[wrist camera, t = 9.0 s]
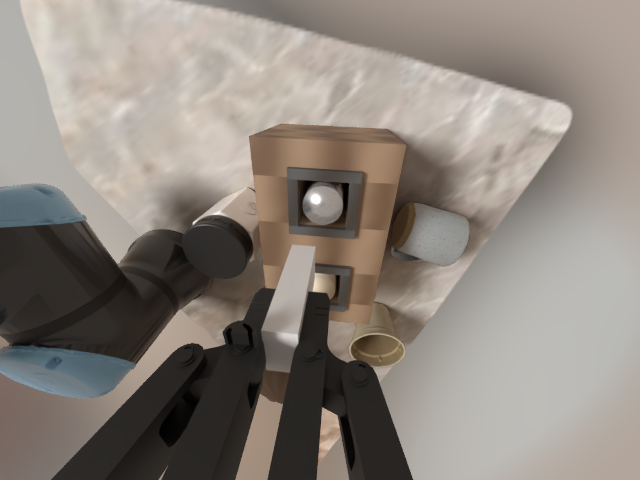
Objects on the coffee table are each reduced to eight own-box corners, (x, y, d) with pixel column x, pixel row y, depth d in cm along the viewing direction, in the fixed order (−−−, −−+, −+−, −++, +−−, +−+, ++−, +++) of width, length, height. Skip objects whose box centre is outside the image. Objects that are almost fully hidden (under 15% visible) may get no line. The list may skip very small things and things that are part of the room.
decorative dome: (344, 355, 56) (343, 401, 48) (297, 387, 66) (290, 430, 57) (274, 316, 52) (260, 359, 43) (235, 355, 61) (217, 398, 52)
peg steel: (315, 188, 34) (302, 223, 25) (316, 159, 32) (302, 185, 23) (343, 190, 34) (341, 226, 25) (345, 161, 32) (344, 188, 23)
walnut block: (287, 263, 44) (267, 317, 33) (281, 123, 32) (246, 137, 21) (364, 270, 43) (369, 328, 32) (387, 129, 31) (408, 146, 20)
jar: (285, 210, 38) (261, 251, 28) (261, 243, 42) (232, 290, 32) (235, 176, 36) (191, 207, 26) (215, 214, 40) (169, 255, 30)
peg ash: (313, 252, 40) (302, 300, 31) (314, 231, 38) (302, 275, 28) (337, 254, 40) (334, 303, 30) (339, 233, 38) (336, 278, 28)
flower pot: (377, 334, 51) (381, 374, 44) (340, 316, 49) (338, 354, 42) (407, 309, 47) (418, 349, 39) (367, 287, 45) (370, 325, 37)
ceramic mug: (404, 192, 35) (416, 215, 28) (457, 206, 35) (481, 232, 29) (377, 249, 41) (382, 279, 34) (423, 261, 41) (437, 294, 34)
